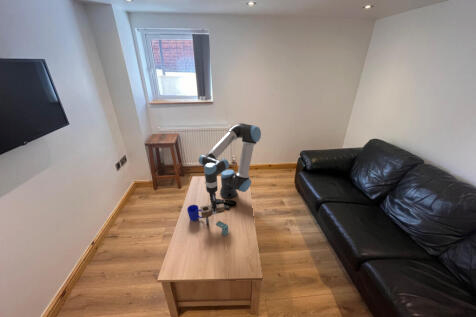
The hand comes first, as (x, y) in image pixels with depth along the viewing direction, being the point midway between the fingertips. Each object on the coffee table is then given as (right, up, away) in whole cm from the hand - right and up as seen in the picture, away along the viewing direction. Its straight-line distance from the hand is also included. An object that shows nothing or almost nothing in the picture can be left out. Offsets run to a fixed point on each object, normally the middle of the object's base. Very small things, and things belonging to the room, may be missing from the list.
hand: (214, 212), depth 138 cm
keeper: (+6, -13, -3) cm, 15 cm away
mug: (-14, -8, +9) cm, 19 cm away
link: (-1, 0, 0) cm, 1 cm away
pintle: (-5, -10, +4) cm, 12 cm away
